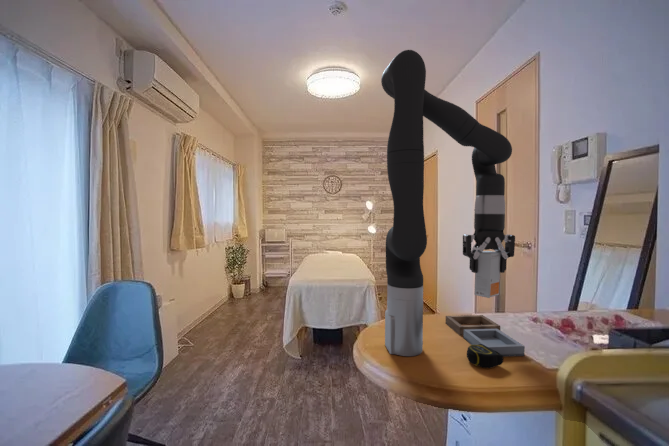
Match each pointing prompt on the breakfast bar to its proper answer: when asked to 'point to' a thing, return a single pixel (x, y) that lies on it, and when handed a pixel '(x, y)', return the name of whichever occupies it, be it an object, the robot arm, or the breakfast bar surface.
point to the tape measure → (484, 356)
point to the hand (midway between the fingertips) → (487, 272)
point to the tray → (495, 341)
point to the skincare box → (488, 274)
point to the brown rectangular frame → (456, 322)
